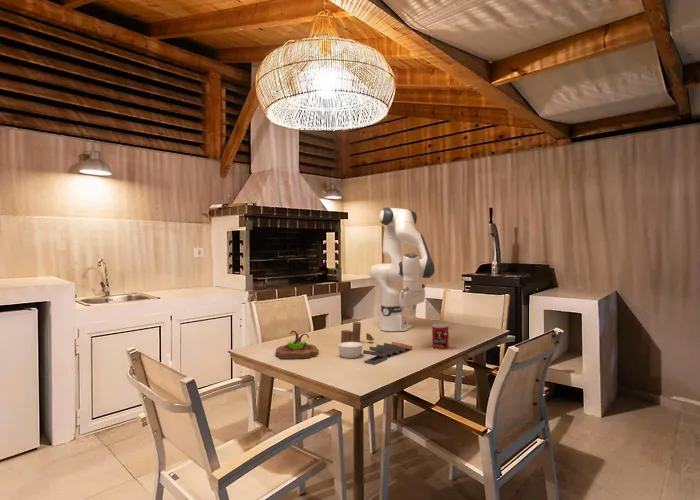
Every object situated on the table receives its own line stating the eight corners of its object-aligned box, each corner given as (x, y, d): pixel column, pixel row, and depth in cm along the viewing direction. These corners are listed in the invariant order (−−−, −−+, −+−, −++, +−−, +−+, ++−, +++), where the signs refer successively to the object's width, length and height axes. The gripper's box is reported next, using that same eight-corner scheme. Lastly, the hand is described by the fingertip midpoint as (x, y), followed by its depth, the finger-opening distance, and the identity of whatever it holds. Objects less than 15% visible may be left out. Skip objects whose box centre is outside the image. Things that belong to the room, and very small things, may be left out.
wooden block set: (346, 348, 203) (347, 327, 202) (336, 343, 210) (337, 323, 209) (374, 343, 214) (375, 323, 213) (363, 339, 221) (364, 320, 220)
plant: (274, 350, 202) (273, 327, 202) (313, 347, 207) (313, 325, 207) (277, 360, 183) (276, 335, 183) (320, 357, 187) (320, 332, 187)
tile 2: (392, 348, 194) (376, 344, 188) (399, 350, 190) (384, 345, 184) (391, 352, 193) (376, 347, 187) (398, 353, 189) (383, 349, 184)
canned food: (431, 348, 199) (431, 326, 199) (433, 345, 206) (433, 323, 206) (447, 349, 196) (447, 326, 196) (449, 346, 203) (449, 323, 203)
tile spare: (404, 344, 202) (391, 341, 195) (412, 346, 198) (400, 343, 191) (403, 347, 201) (391, 345, 194) (411, 349, 198) (399, 346, 191)
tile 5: (377, 355, 184) (364, 360, 176) (386, 357, 181) (374, 362, 173) (377, 359, 184) (364, 364, 176) (386, 361, 181) (374, 366, 173)
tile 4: (378, 352, 186) (363, 349, 180) (386, 353, 182) (371, 351, 176) (378, 356, 186) (362, 353, 179) (386, 357, 182) (371, 355, 176)
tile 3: (384, 350, 190) (370, 346, 184) (392, 351, 186) (378, 347, 180) (384, 354, 190) (369, 349, 183) (392, 355, 186) (377, 351, 180)
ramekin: (338, 352, 194) (338, 341, 194) (362, 352, 194) (362, 341, 194) (337, 359, 183) (337, 347, 183) (362, 359, 183) (362, 347, 183)
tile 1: (397, 346, 197) (384, 342, 191) (405, 348, 193) (392, 344, 187) (396, 350, 197) (383, 346, 190) (404, 351, 193) (391, 347, 187)
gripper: (406, 289, 196) (407, 318, 197) (426, 284, 213) (427, 310, 213) (395, 288, 200) (396, 316, 201) (416, 283, 216) (416, 309, 217)
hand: (412, 313), depth 207 cm, fingers closed
